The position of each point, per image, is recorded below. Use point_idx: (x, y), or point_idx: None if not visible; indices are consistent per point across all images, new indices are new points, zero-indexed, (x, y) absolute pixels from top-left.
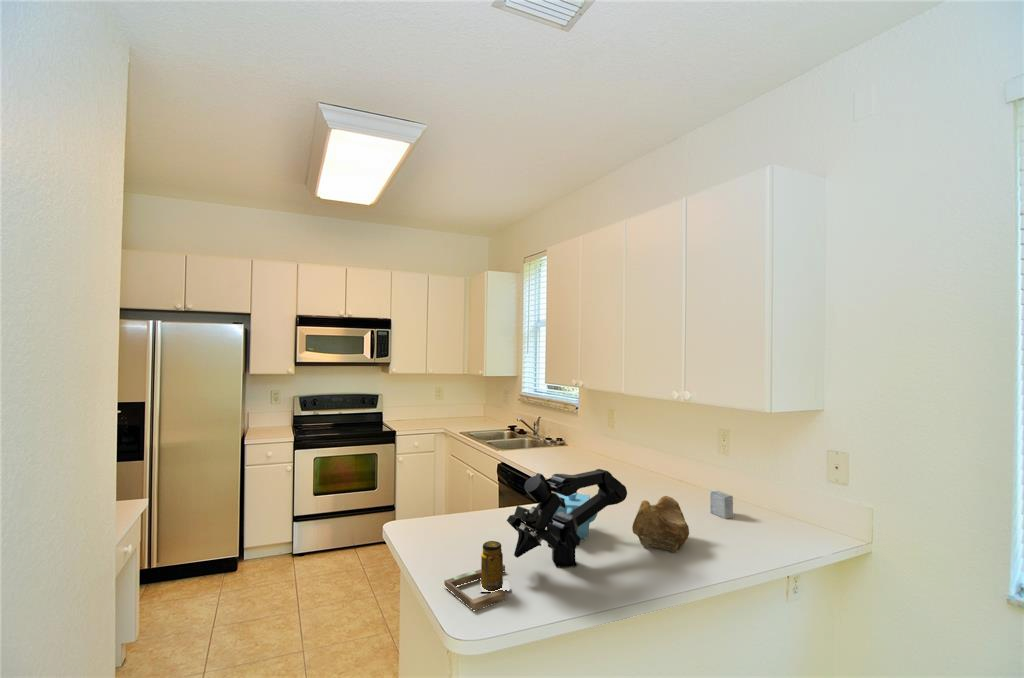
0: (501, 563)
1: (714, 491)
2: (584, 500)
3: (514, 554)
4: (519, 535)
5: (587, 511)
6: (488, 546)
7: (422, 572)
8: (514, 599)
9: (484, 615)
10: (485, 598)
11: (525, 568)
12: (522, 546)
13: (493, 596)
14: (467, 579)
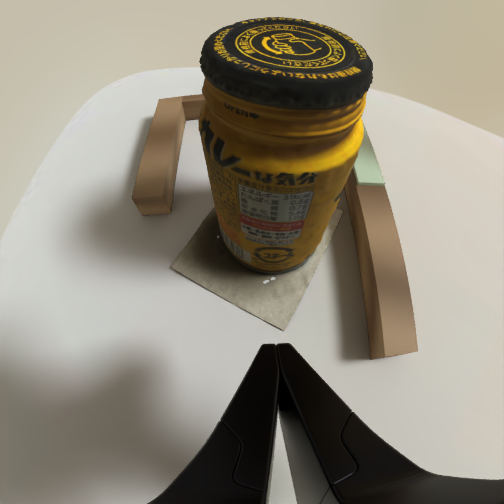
0: (210, 173)
1: None
2: None
3: (282, 343)
4: (409, 482)
5: None
6: (256, 21)
7: (450, 126)
8: (121, 246)
9: (128, 131)
10: (154, 128)
11: None
12: (222, 419)
13: (143, 152)
14: None
